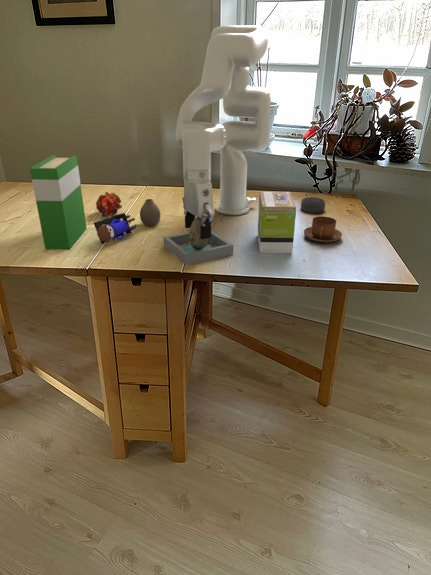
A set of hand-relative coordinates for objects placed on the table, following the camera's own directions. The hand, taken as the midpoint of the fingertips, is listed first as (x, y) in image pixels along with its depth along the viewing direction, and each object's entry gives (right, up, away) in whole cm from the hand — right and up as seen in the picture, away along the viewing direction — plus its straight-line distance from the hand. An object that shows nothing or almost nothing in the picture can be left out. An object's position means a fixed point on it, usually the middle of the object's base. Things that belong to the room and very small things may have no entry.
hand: (197, 232), depth 129 cm
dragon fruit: (-33, +10, +30) cm, 46 cm away
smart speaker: (+42, +13, +37) cm, 58 cm away
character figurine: (-26, -1, +10) cm, 28 cm away
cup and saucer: (+40, -1, +13) cm, 42 cm away
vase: (-17, +5, +21) cm, 28 cm away
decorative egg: (0, -5, +3) cm, 5 cm away
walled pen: (0, -5, +3) cm, 6 cm away
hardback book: (-42, -1, +10) cm, 43 cm away
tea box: (+23, -3, +8) cm, 25 cm away
